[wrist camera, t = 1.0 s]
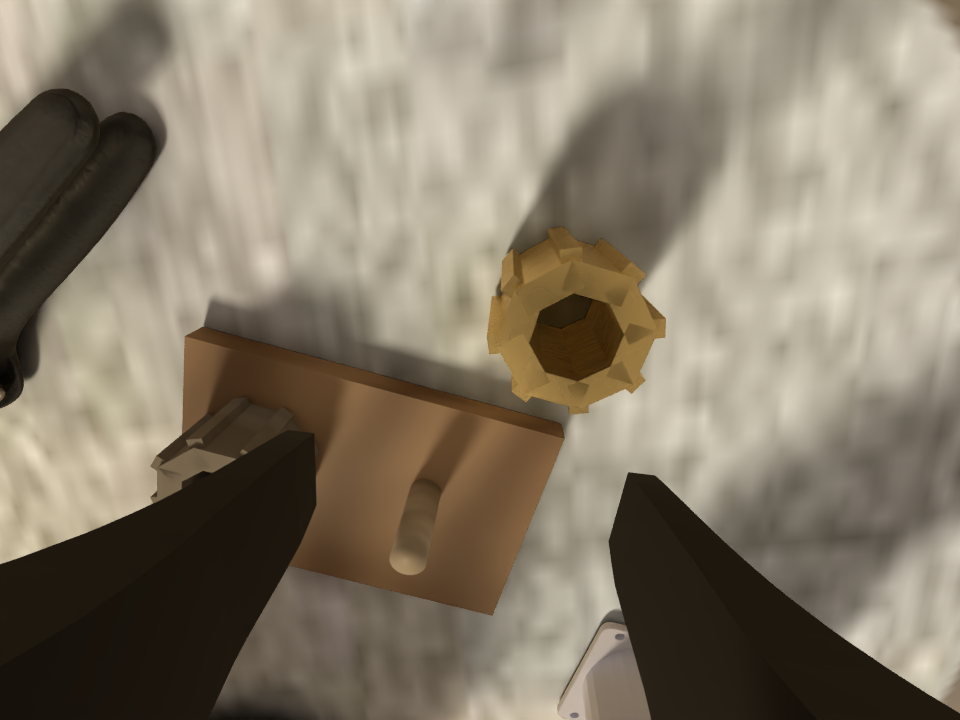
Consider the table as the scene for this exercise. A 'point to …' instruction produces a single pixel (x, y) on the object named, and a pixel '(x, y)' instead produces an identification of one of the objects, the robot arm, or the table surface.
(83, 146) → the can opener
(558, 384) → the brass gear
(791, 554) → the table surface
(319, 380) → the gear board
